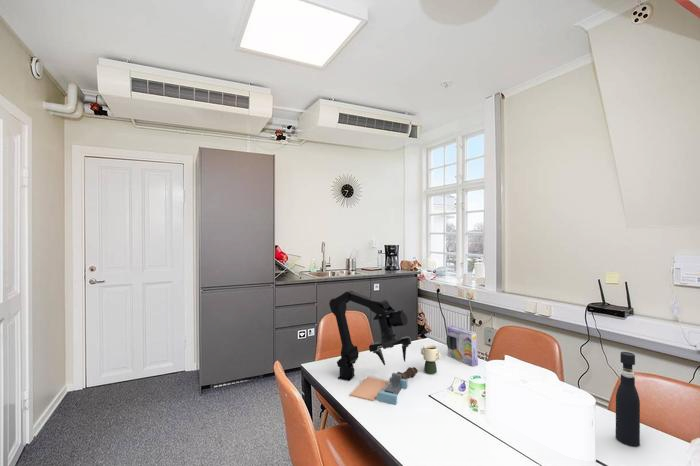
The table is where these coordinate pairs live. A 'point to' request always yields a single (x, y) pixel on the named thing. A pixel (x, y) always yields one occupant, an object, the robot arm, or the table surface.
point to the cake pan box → (462, 345)
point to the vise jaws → (391, 394)
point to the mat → (369, 388)
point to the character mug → (430, 358)
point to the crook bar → (395, 384)
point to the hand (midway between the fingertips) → (394, 363)
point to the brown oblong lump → (409, 373)
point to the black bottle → (627, 405)
